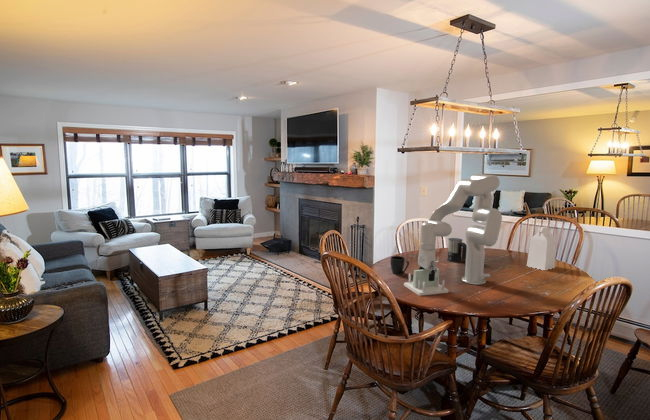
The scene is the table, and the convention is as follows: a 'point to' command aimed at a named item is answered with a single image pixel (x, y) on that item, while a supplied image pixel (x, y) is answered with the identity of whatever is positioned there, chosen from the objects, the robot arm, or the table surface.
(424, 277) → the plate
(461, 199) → the robot arm
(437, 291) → the dish rack
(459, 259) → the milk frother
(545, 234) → the milk
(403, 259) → the mug
